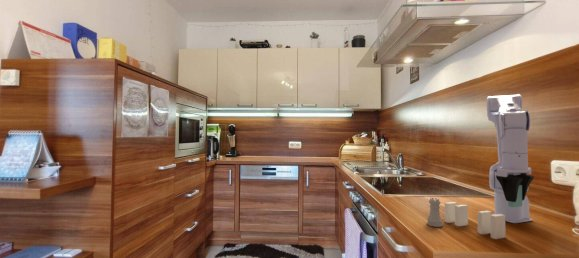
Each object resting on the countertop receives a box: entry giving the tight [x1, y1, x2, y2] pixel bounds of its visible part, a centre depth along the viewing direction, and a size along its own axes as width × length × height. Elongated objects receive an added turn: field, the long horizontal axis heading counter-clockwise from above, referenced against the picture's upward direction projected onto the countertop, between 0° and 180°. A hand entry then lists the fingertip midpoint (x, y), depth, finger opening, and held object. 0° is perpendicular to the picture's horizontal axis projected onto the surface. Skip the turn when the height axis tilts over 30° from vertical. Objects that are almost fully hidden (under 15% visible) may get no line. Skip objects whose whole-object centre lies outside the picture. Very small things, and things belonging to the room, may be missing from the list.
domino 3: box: [476, 210, 493, 235], centre depth 75 cm, size 4×1×6 cm, turn 109°
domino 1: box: [444, 201, 458, 224], centre depth 85 cm, size 4×1×6 cm, turn 109°
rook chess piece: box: [426, 197, 444, 228], centre depth 81 cm, size 4×4×8 cm
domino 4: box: [490, 214, 506, 240], centre depth 71 cm, size 4×1×6 cm, turn 109°
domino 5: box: [508, 185, 522, 207], centre depth 76 cm, size 4×1×6 cm, turn 109°
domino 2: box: [454, 204, 469, 227], centre depth 81 cm, size 4×1×6 cm, turn 109°
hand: (515, 200), depth 76 cm, fingers closed on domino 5, 4 cm apart
